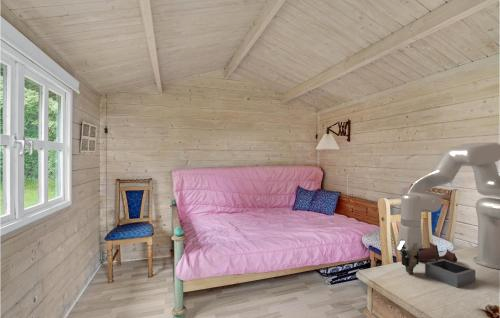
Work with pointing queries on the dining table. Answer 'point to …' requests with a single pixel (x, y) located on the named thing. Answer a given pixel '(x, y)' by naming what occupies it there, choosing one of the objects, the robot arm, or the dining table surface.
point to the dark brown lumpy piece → (435, 254)
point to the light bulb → (412, 259)
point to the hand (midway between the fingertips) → (410, 264)
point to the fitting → (450, 273)
